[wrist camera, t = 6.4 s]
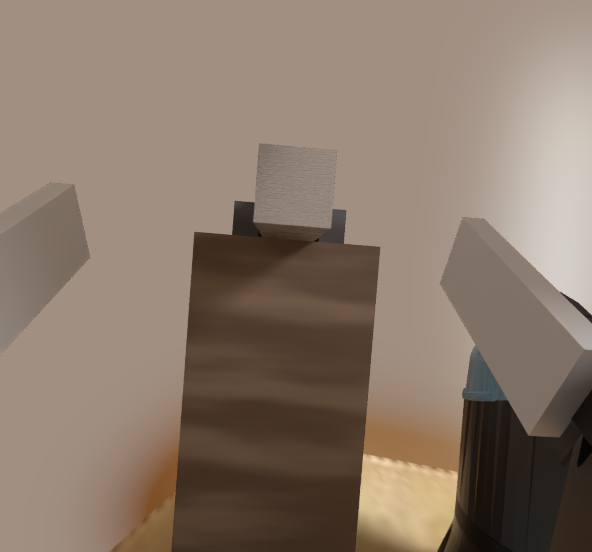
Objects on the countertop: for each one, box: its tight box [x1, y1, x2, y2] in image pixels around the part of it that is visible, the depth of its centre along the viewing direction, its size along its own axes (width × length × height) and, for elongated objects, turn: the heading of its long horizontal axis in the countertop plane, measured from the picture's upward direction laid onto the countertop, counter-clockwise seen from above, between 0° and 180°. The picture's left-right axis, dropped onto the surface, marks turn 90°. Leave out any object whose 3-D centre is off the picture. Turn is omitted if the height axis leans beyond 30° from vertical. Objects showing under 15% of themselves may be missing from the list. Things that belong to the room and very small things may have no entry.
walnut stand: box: [172, 201, 380, 552], centre depth 31 cm, size 16×11×30 cm
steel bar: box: [253, 144, 337, 242], centre depth 25 cm, size 20×3×3 cm, turn 2°
